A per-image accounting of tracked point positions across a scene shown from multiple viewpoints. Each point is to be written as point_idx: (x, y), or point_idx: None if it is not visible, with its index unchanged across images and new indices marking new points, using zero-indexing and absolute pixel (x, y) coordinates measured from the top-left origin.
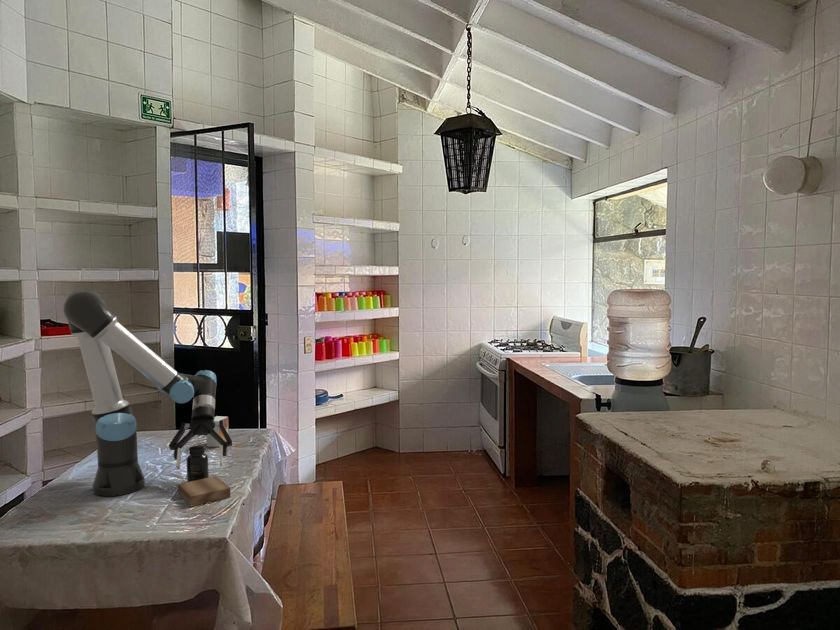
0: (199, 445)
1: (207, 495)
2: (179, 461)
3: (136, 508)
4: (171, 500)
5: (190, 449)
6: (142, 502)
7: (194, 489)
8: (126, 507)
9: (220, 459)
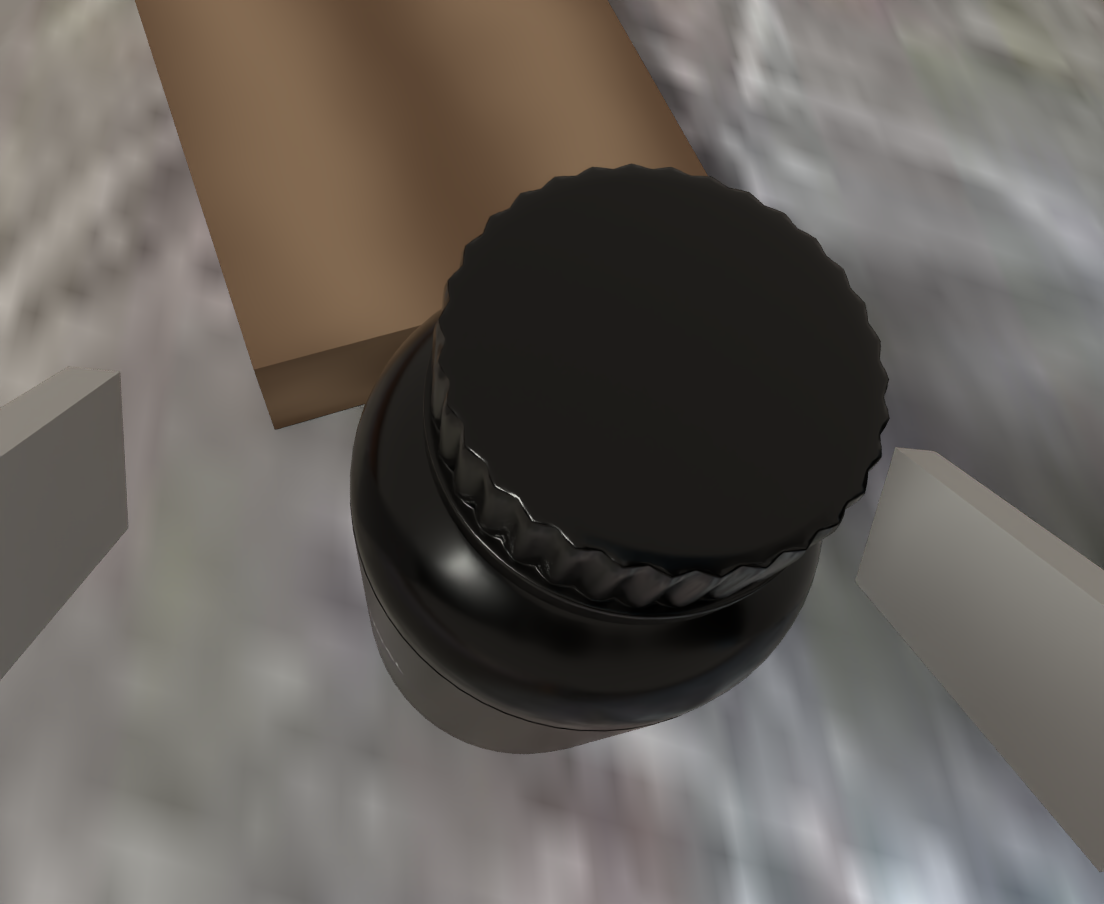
0: (616, 535)
1: None
2: (939, 557)
3: (981, 101)
4: (734, 158)
5: (822, 268)
6: (984, 202)
7: (528, 32)
8: (1072, 147)
9: (69, 394)
